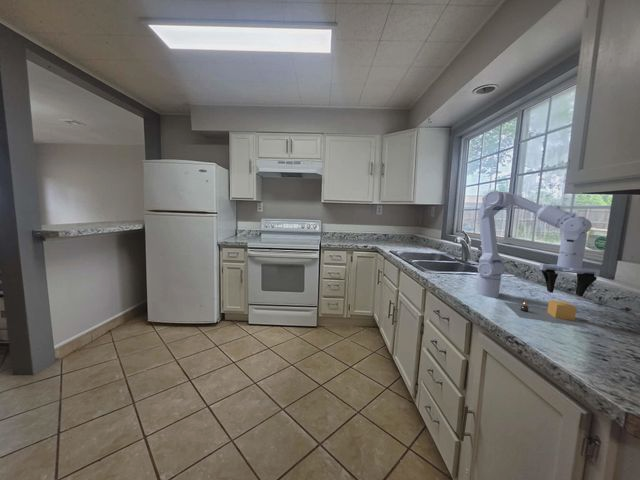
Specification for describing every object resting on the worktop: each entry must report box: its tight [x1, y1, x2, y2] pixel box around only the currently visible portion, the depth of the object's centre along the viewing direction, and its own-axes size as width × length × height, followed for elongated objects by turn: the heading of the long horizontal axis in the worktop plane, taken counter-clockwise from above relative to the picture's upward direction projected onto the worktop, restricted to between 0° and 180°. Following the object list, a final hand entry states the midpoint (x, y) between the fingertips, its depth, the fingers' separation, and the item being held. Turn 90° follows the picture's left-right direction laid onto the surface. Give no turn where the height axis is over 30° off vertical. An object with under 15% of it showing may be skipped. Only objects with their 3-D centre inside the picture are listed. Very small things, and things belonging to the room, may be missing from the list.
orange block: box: [547, 299, 578, 321], centre depth 82 cm, size 5×5×4 cm
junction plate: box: [503, 301, 591, 329], centre depth 84 cm, size 15×18×1 cm
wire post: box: [521, 301, 529, 312], centre depth 85 cm, size 2×2×3 cm
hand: (564, 293), depth 81 cm, fingers open, 7 cm apart
